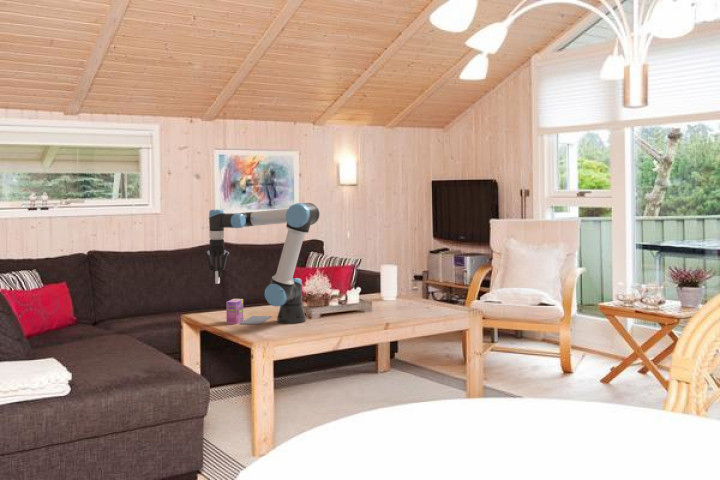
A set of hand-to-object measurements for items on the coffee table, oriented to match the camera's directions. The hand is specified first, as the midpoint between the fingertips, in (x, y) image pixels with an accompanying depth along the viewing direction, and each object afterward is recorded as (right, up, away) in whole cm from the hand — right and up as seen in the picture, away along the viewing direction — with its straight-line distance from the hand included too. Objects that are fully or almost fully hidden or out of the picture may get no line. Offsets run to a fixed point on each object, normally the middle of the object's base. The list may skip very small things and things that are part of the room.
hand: (217, 283), depth 388 cm
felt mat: (+20, -20, +5) cm, 29 cm away
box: (+9, -21, 0) cm, 23 cm away
